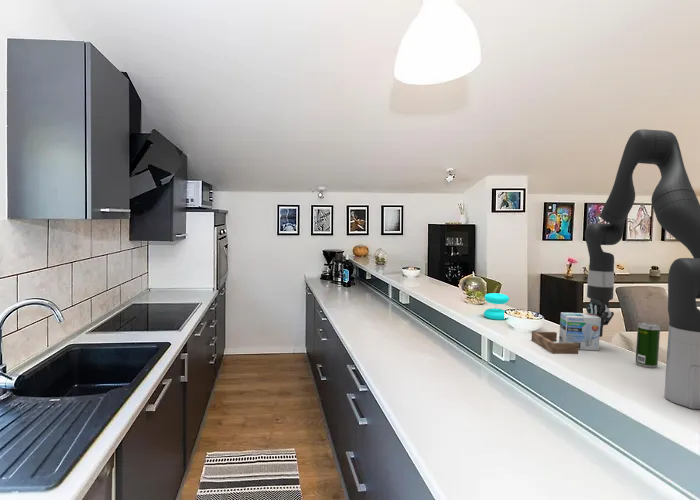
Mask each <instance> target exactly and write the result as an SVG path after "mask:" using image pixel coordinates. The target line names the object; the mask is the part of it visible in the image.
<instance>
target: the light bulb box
mask: <svg viewBox="0 0 700 500" xmlns="http://www.w3.org/2000/svg"><path fill="white" fill-rule="evenodd" d="M559 319H560V321H559V334H558V335H559V336H558V343H577V344H579V348H578V350H585V351H599V350H600V349H599V347H600V338H601V337H600V326H601V318H599V317H598V316H595V315H594V314H590V313H584V312H560V318H559Z"/></svg>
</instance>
